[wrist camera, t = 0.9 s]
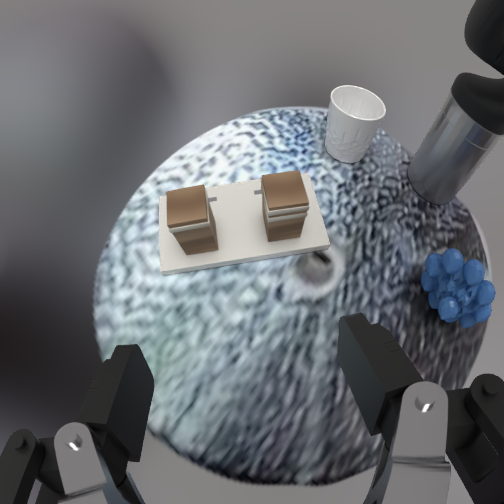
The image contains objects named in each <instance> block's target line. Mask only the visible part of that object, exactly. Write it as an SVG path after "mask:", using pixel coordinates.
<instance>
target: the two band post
mask: <svg viewBox="0 0 504 504" xmlns="http://www.w3.org/2000/svg"><path fill="white" fill-rule="evenodd" d="M261 192H262V214H263V219H264V224H265V229H266V234H267V239H268V242H271V241H278V240H284V239H290V238H297V237H300V236H301V233H302V229H303V225H304V221H305V217H307V215H308V212H307V210H309V207H310V206H309V200H308V197H307V193H306V190H305V187H304V183H303V180H302V177H301V174H300V171H291V172H283V173H275V174H268V175H262V178H261Z"/></svg>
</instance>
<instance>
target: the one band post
mask: <svg viewBox="0 0 504 504" xmlns="http://www.w3.org/2000/svg"><path fill="white" fill-rule="evenodd" d="M166 193H167V226H168V230H169V232H170V233H172V234H173V235H174V237H175V238H176V240H177V242H178V243H179V245H180V246H181V248H182V249H183V251H184V252H185V254H186V255H191V254H197V253H203V252H209V251H215V250H219V249H218V240H217V232H216V223H215V219H214V216H213V212H212V209H211V206H210V203H209V200H208V195H207V190H206V188H205V187H204V185H199V186H193V187H188V188H183V189H178V190H173V191H168V192H166Z"/></svg>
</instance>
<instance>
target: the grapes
mask: <svg viewBox="0 0 504 504" xmlns="http://www.w3.org/2000/svg"><path fill="white" fill-rule="evenodd" d="M425 267H426V270H425V271H424V272H423V274H422V275H421V284H422V287H423V289H424V290H425V291H427V292H429V294H428V301H429V304H430V307H431V308H433V309H438V314H439V316H440V318H441V319H442V320H445V321H446V322H448V323H450V322H455V321H457V320H458V319H459V320H460V323H461V326H462V327H463V328H470V327H472V326H474V325H475V323H476V322H484V321H486V320H487V319H488V318H489V317H490V315H491V311H492V310H491V305H490V304H491V302H492V301H493V300H494V297H495V289H494V286H493V284H492V283H491V282H490V281H488V280H483V279H484V273H485V272H484V268H483V265H482V264H481V262H480V261H478V260H476V259H470V260H468V261H466V263H465V264H464V259H463V256H462V254H461V252H460V251H459V250H457V249H455V248H449V249H447V250H446V251H445V252H444V253H443V255H440V254H438V253H432V254H430V255H428V257H427V259H426V262H425Z"/></svg>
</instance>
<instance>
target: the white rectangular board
mask: <svg viewBox="0 0 504 504" xmlns="http://www.w3.org/2000/svg"><path fill="white" fill-rule="evenodd" d="M301 177H302V180H303V183H304V187H305V190H306V193H307V197H308V200H309V206H310V207H309V210H307V212H308V215H307V217H305V221H304V225H303V229H302V233H301V236H300V237H297V238H290V239H284V240H278V241H271V242H268V239H267V234H266V229H265V224H264V219H263V214H262V192H261V179H258V180H251V181H244V182H238V183H231V184H225V185H219V186H213V187H208V188H206V190H207V195H208V200H209V203H210V206H211V209H212V212H213V216H214V219H215V223H216V232H217V240H218V249H219V250H215V251H209V252H203V253H197V254H191V255H186V254H185V252H184V251H183V249H182V248H181V246H180V245H179V243H178V242H177V240H176V238H175V237H174V235H173V234H172V233H170V232H169V230H168V226H167V195H165V196H161V197H159V240H160V269H161V272H162V273H163V274H164V275H169V274H176V273H182V272H189V271H195V270H201V269H208V268H214V267H221V266H227V265H233V264H239V263H246V262H252V261H258V260H264V259H270V258H277V257H283V256H289V255H295V254H301V253H307V252H313V251H319V250H325V249H328V247H329V246H330V242H329V239H328V235H327V232H326V228H325V225H324V221H323V218H322V214H321V211H320V208H319V204H318V201H317V198H316V195H315V192H314V188H313V185H312V182H311V179H310V176H309V173H304V174H301Z"/></svg>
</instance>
